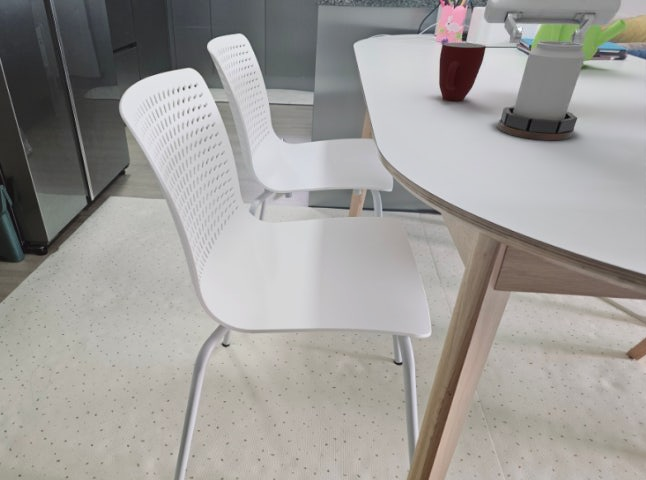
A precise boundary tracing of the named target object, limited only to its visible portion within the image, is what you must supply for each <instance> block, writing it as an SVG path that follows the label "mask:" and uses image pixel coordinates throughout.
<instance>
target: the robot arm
mask: <svg viewBox="0 0 646 480" xmlns="http://www.w3.org/2000/svg"><path fill="white" fill-rule="evenodd" d="M621 5H622V0H487V1H486V5H485V9H484V13H483V19H484V20H485V21H486V23H488V24H504V25H503V28H504V29H505V31H506V32H507V33H508V35H509V44H519V43H520V42H521V40H522V36H523V30H524V29H523V28H524V27H518V25H542V24H554V25H579V29H575V31H574V34H573V35H572V36H571V42H576V43H581V44H582V42H583V41H584V38H585V32H586V31H587V30H588V29H589V27H590V26H591V25H597V26H602V27H603V26H604V27H605V26H607V25H608V24H610V23H611V22H612V21H613V19H614V18H616V16H617V14H618V12H619V10H620V8H621Z"/></svg>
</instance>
